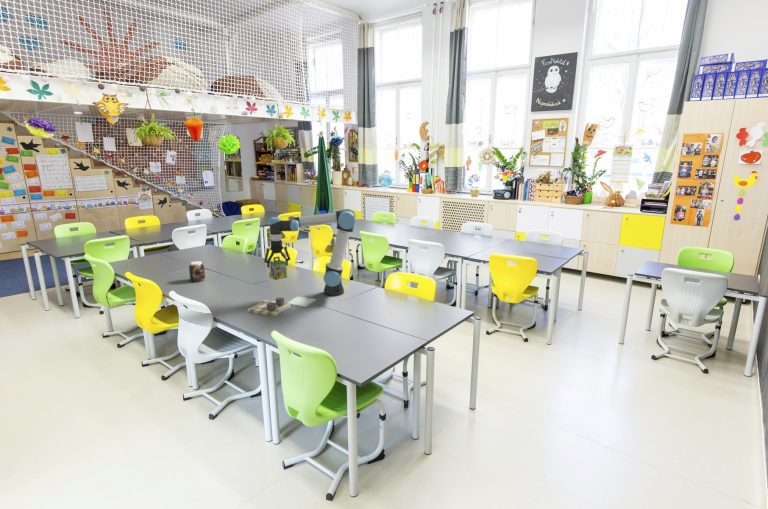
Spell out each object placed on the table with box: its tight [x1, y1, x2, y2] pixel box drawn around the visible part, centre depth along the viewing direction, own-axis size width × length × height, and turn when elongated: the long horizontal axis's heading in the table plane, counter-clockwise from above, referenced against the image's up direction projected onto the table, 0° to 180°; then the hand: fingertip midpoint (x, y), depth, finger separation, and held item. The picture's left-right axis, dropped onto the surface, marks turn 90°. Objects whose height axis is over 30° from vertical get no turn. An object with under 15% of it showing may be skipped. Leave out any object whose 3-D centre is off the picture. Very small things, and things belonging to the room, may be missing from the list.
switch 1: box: [267, 302, 276, 311], centre depth 263 cm, size 4×4×4 cm
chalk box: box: [268, 256, 288, 281], centre depth 284 cm, size 9×9×15 cm
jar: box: [188, 260, 206, 283], centre depth 330 cm, size 12×12×15 cm
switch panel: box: [247, 299, 292, 317], centre depth 271 cm, size 20×19×2 cm
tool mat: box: [286, 296, 317, 308], centre depth 284 cm, size 15×15×1 cm
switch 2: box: [275, 296, 285, 306], centre depth 273 cm, size 4×4×4 cm
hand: (278, 271), depth 285 cm, fingers closed on chalk box, 10 cm apart
